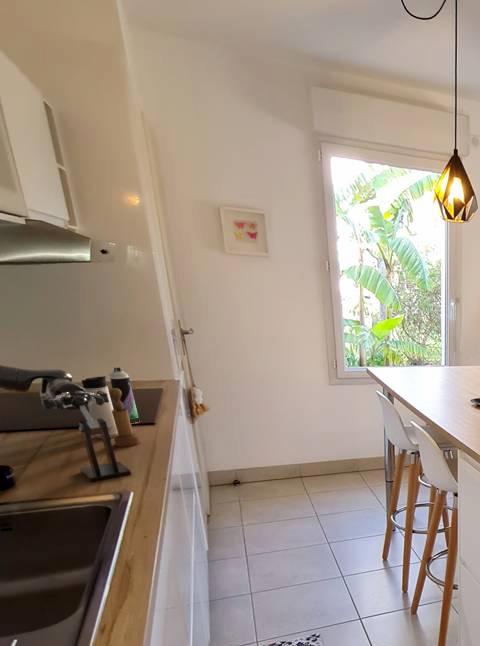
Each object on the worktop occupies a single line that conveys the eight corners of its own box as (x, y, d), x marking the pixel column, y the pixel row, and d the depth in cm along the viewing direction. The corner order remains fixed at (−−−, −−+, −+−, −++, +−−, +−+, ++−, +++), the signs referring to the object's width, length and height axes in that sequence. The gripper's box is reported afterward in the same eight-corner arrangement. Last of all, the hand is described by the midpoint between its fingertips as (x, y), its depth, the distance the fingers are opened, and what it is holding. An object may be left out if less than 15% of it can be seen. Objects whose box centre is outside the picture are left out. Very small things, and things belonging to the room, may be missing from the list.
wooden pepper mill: (112, 444, 176) (97, 388, 170) (135, 439, 181) (122, 385, 175) (120, 448, 173) (106, 391, 166) (144, 443, 178) (130, 388, 171)
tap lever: (70, 405, 151) (68, 394, 149) (86, 403, 154) (85, 392, 152) (88, 437, 146) (86, 427, 144) (104, 435, 149) (103, 424, 146)
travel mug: (114, 438, 182) (99, 378, 174) (92, 438, 181) (75, 378, 173) (124, 433, 187) (110, 374, 180) (103, 433, 186) (87, 374, 179)
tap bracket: (81, 472, 152) (66, 420, 146) (120, 465, 158) (107, 415, 153) (91, 482, 145) (75, 428, 140) (131, 474, 151) (118, 422, 146)
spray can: (123, 425, 197) (109, 369, 190) (119, 422, 201) (105, 367, 193) (141, 422, 201) (128, 367, 194) (137, 420, 204) (124, 365, 197)
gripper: (32, 384, 153) (43, 393, 143) (94, 379, 163) (109, 387, 153) (40, 410, 156) (51, 421, 146) (101, 404, 166) (116, 413, 156)
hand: (81, 403), depth 150 cm, fingers open, 8 cm apart
